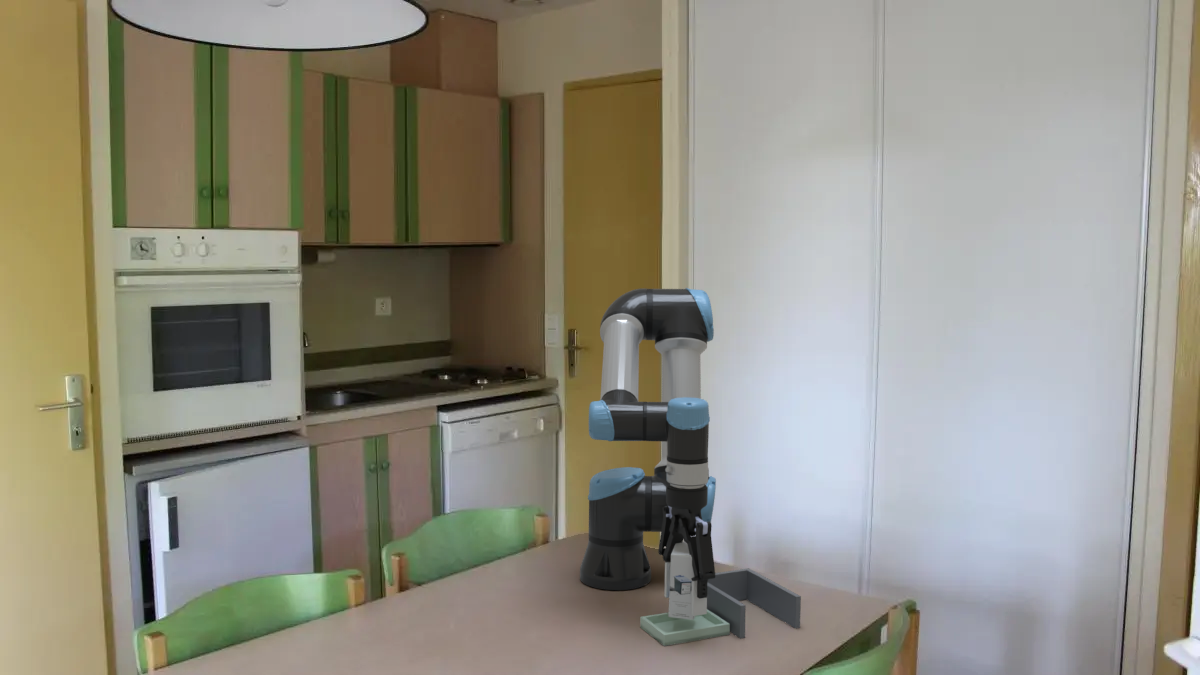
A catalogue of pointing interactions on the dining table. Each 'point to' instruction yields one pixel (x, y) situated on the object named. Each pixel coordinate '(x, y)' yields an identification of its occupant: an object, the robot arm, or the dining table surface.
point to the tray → (684, 628)
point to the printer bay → (750, 598)
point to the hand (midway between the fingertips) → (685, 604)
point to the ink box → (681, 582)
